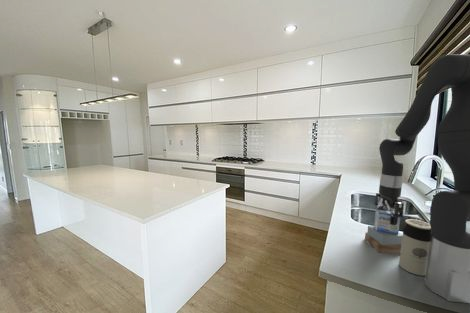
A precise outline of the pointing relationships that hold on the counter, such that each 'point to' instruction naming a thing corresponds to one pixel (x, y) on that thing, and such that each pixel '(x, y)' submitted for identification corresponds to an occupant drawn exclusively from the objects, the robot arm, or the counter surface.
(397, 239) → the tower top block
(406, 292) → the counter surface
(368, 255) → the counter surface
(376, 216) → the medicine box
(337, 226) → the counter surface
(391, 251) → the tower base block
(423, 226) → the travel mug
